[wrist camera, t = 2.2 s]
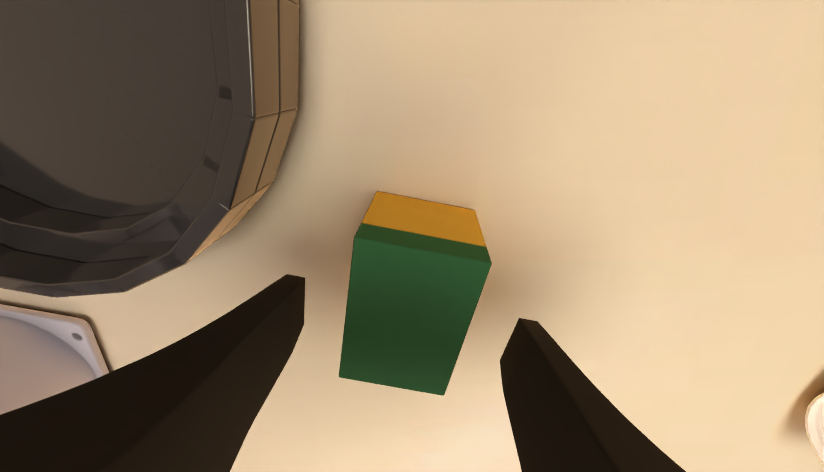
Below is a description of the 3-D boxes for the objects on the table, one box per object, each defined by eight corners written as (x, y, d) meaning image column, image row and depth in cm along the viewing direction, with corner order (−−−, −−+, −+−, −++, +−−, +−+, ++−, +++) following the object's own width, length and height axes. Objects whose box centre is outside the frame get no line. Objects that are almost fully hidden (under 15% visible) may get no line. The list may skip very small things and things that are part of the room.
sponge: (441, 321, 15) (444, 396, 12) (360, 306, 15) (338, 377, 11) (475, 209, 12) (492, 263, 9) (376, 190, 12) (353, 237, 9)
